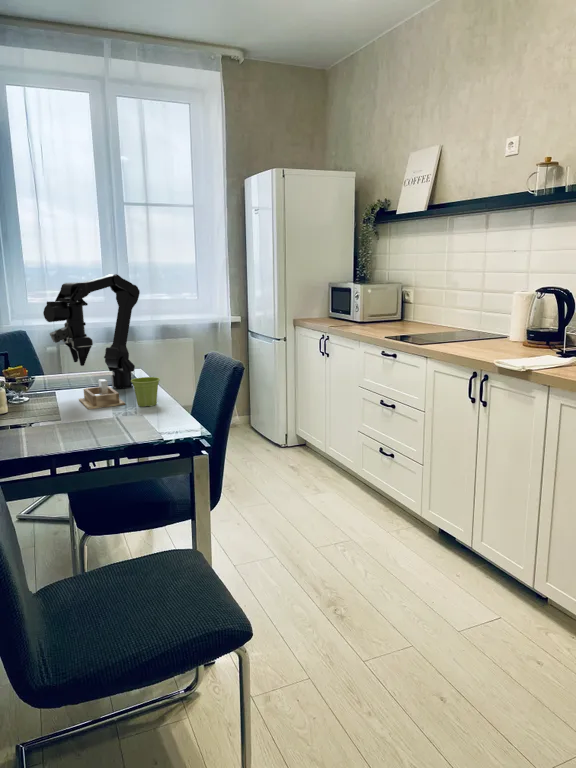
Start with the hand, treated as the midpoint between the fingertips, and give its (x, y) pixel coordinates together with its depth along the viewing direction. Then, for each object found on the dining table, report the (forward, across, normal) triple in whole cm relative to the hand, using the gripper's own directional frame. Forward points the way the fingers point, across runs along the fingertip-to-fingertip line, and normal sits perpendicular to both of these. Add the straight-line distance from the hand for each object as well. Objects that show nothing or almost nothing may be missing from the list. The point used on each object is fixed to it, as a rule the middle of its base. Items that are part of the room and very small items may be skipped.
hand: (78, 363), depth 206 cm
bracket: (+11, +13, +3) cm, 18 cm away
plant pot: (+12, +26, +15) cm, 32 cm away
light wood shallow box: (+12, +13, +3) cm, 18 cm away
